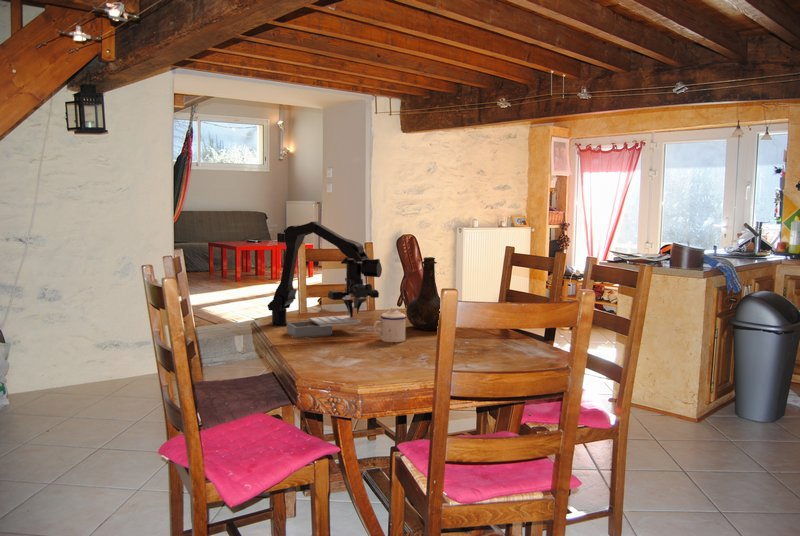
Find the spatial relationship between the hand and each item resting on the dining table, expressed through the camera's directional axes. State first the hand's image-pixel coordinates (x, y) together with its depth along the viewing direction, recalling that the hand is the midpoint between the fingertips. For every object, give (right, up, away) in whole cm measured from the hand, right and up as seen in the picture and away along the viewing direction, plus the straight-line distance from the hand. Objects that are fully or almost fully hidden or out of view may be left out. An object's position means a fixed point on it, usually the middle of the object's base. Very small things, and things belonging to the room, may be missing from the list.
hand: (353, 316), depth 242 cm
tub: (-16, -6, -7) cm, 18 cm away
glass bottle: (+29, -5, +9) cm, 31 cm away
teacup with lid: (+14, -8, -15) cm, 22 cm away
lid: (-7, -2, -3) cm, 8 cm away
